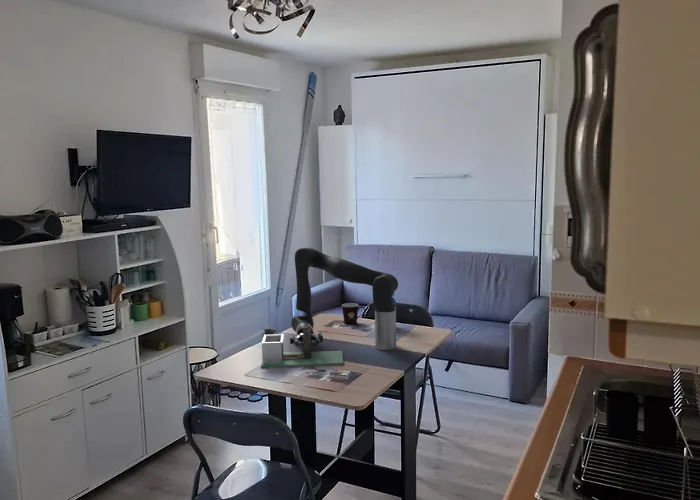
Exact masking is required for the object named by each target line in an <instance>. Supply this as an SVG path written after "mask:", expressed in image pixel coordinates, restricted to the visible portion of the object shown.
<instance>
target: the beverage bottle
mask: <svg viewBox="0 0 700 500" xmlns="http://www.w3.org/2000/svg"><path fill="white" fill-rule="evenodd" d="M394 296H395V291H394V292H393V293H392V302H393V303H394V304H395V325H396V326H397V324H396V323H397V312H396V311H397V305H396V303H397V302H396V299H395V297H394Z"/></svg>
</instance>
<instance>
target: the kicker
mask: <svg viewBox="0 0 700 500" xmlns="http://www.w3.org/2000/svg"><path fill="white" fill-rule="evenodd" d="M303 341H304V343H303V352H304V354H282V358H303V357H305V358H310V357H312V356H311V352H312V342H311V327H310V326H304V327H303Z"/></svg>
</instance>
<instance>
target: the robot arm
mask: <svg viewBox="0 0 700 500" xmlns="http://www.w3.org/2000/svg"><path fill="white" fill-rule="evenodd" d="M294 266H295V267H294V268H295V277H296V301H295V302H296V303H295V305H296V306H295V307H296V308H295V309H296V310H297V311H299V312H304V313H305V315H295V316H293V317H292V319H291V323H290V326H291V328H292V329H293V331H294V332H295V334H296V335H293V334H292V333H290V335H289V344H291V345H292V344H294V346H296V347H299V344H304V341H303V327H304V326H310V327H311V344H312V343H313V344H314V343H315V344H316V346H319V345H320V344H321V343H324V335H323V334H322V332H318V334H316V333H315V332H314V327H315V326H314V324H315V322H314V318H313V315H312V289H311V285H310V280H309V270H310V268H313V269H314V268H315V269H318V270H322V271H325V272H327V273H328V274H329V275H331V277H334V278H337V279H339V280H341V281H344V282H347V283H351V284H362V285H368V286H371V287H372V290H371V291H372V304H373V306H374V344H375V349H377V350H381V351H389V350H390V351H391V350H396V349H397V324H396V325H395V306H396V304H394V303H393V302H392V293H393V292H394V293H395V292H396V291H397V290H398V287H399V282H398V279H397V278H396V277H395V276H394V275H392V274H391V273H388V272H387V273H386V272H382V271H378V270H373V269H370V268H367V267H365V266H363V265H360V264H358V263H355V262H353V261H349V260H347V259H342V258H341V257H340V258H338V257H336V256H330V255H327V254H325V253H323V252H321V251H319V250H317V249H315V248H313V247H300V248H298V249H297V250H296V251H295V254H294Z"/></svg>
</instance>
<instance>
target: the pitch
mask: <svg viewBox="0 0 700 500" xmlns="http://www.w3.org/2000/svg"><path fill="white" fill-rule="evenodd" d="M284 354H304V351H300V352H298V351H297V352H295V351H294V352H284ZM311 356H312V357H310V358H305V357H303V358H282V363H280V364H263V362H262V361H261V365H260V369H270V368H271V369H272V368H273V369H274V368H275V369H276V368H299V367H300V368H301V367H304V368H305V367H330V366H332V367H333V366H345V364H344V355H343V350H334V351H333V350H328V351H326V350H325V351H311Z"/></svg>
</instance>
